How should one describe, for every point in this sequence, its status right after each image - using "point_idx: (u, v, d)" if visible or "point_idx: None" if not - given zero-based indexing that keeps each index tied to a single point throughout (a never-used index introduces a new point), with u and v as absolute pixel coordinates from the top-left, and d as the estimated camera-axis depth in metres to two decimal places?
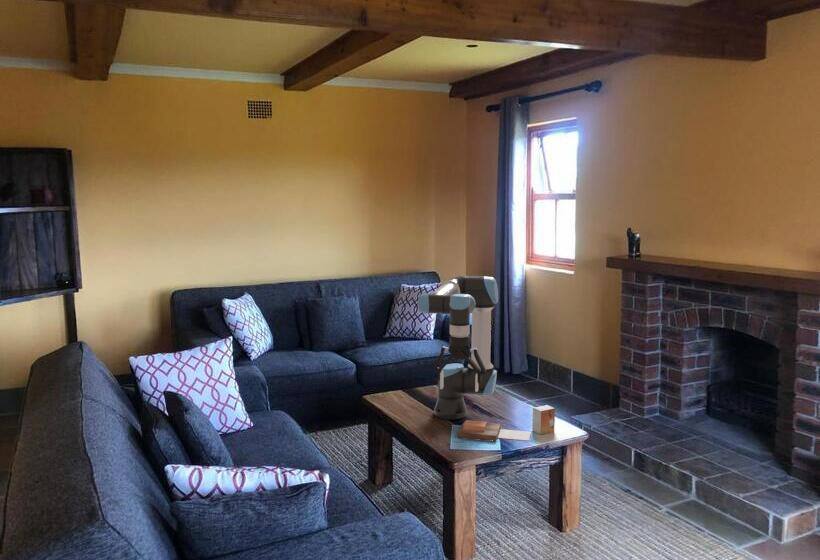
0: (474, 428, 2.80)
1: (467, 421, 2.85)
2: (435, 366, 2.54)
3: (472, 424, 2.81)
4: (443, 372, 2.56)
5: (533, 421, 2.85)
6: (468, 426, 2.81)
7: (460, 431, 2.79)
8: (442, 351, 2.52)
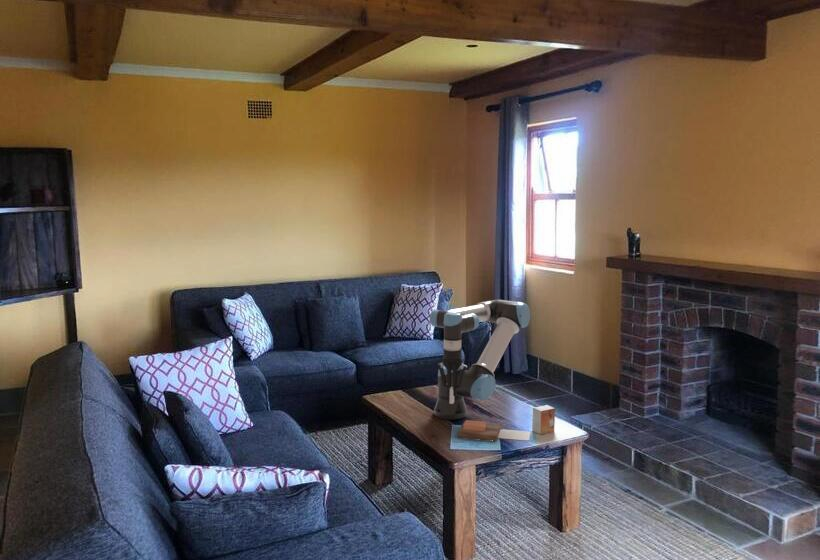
0: (474, 428, 2.80)
1: (467, 421, 2.85)
2: (443, 382, 2.82)
3: (472, 424, 2.81)
4: None
5: (533, 421, 2.85)
6: (468, 426, 2.81)
7: (460, 431, 2.79)
8: (439, 368, 2.82)
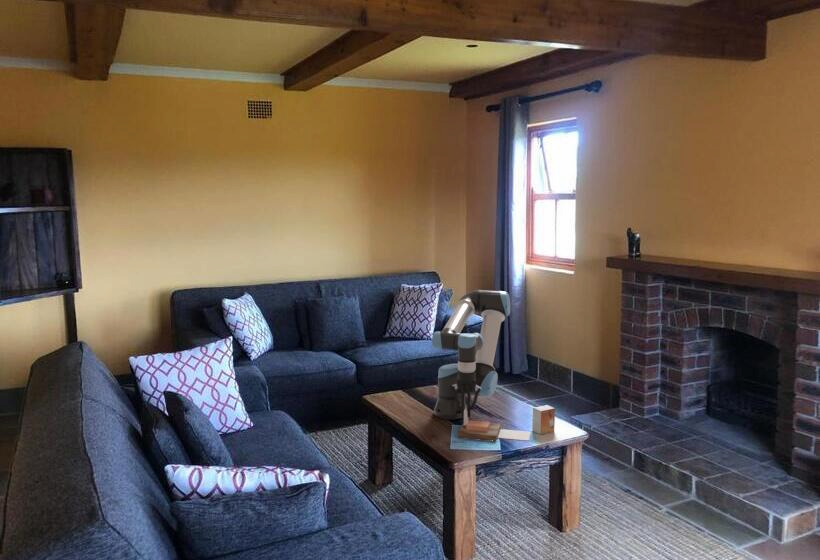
0: (477, 428, 2.80)
1: (470, 421, 2.85)
2: (458, 404, 2.82)
3: (475, 424, 2.81)
4: None
5: (533, 421, 2.85)
6: (471, 426, 2.80)
7: (460, 431, 2.79)
8: (454, 389, 2.82)
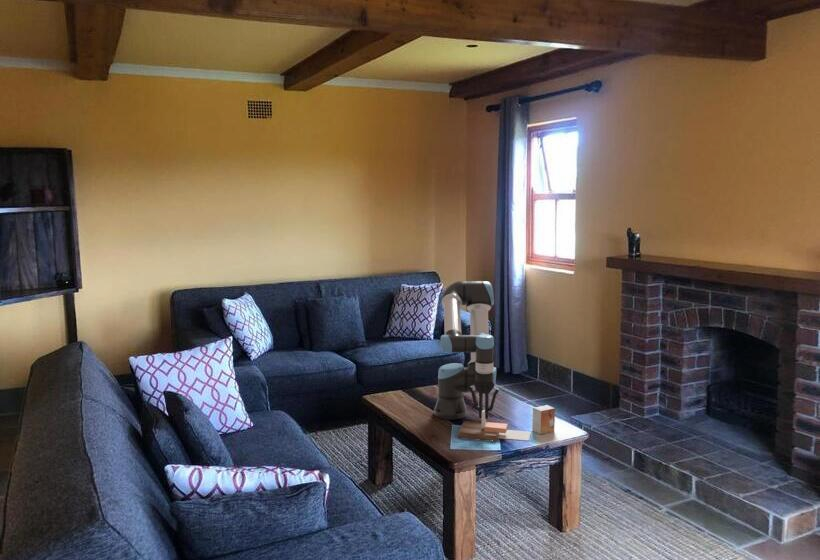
0: (495, 430, 2.78)
1: (488, 423, 2.82)
2: (475, 405, 2.80)
3: (493, 426, 2.79)
4: None
5: (533, 421, 2.85)
6: (489, 428, 2.78)
7: (460, 431, 2.79)
8: (471, 390, 2.80)
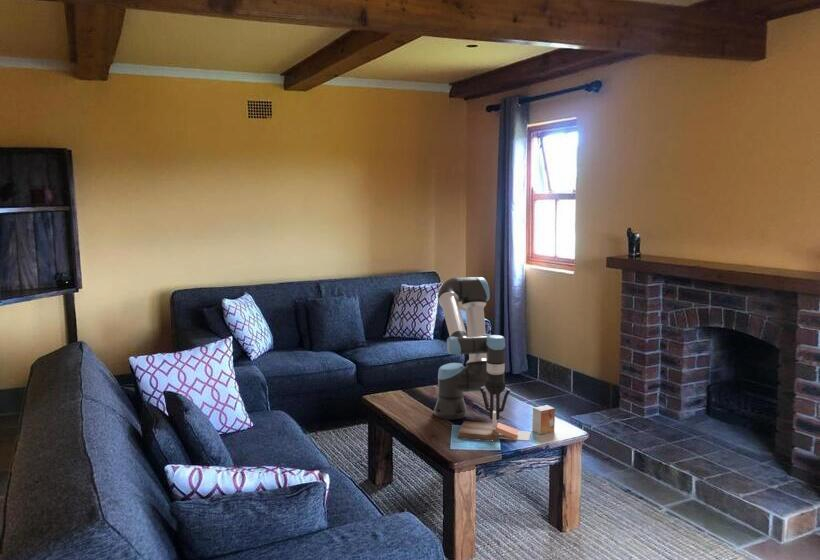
0: (506, 433, 2.77)
1: (499, 424, 2.81)
2: (486, 406, 2.79)
3: (504, 429, 2.78)
4: None
5: (533, 421, 2.85)
6: (500, 430, 2.77)
7: (460, 431, 2.79)
8: (482, 391, 2.79)
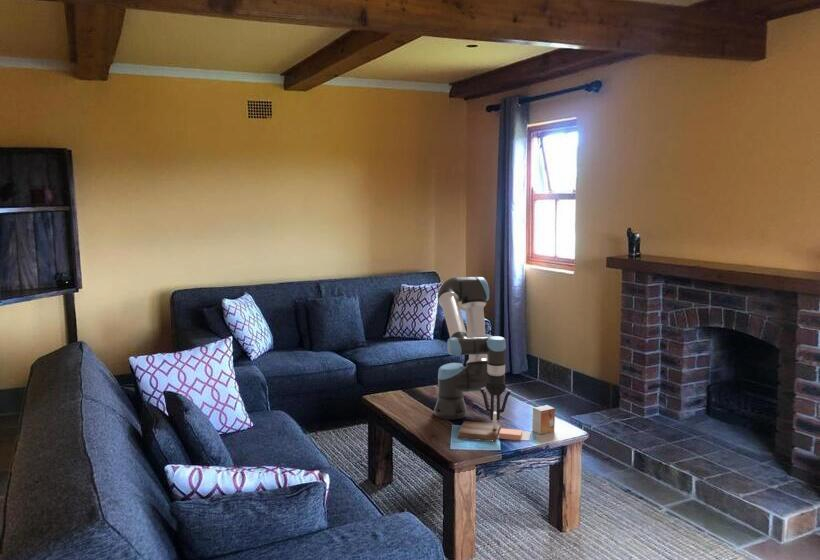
0: (510, 437, 2.76)
1: (502, 429, 2.81)
2: (487, 407, 2.80)
3: (508, 432, 2.78)
4: None
5: (533, 421, 2.85)
6: (504, 434, 2.77)
7: (460, 431, 2.79)
8: (483, 392, 2.79)
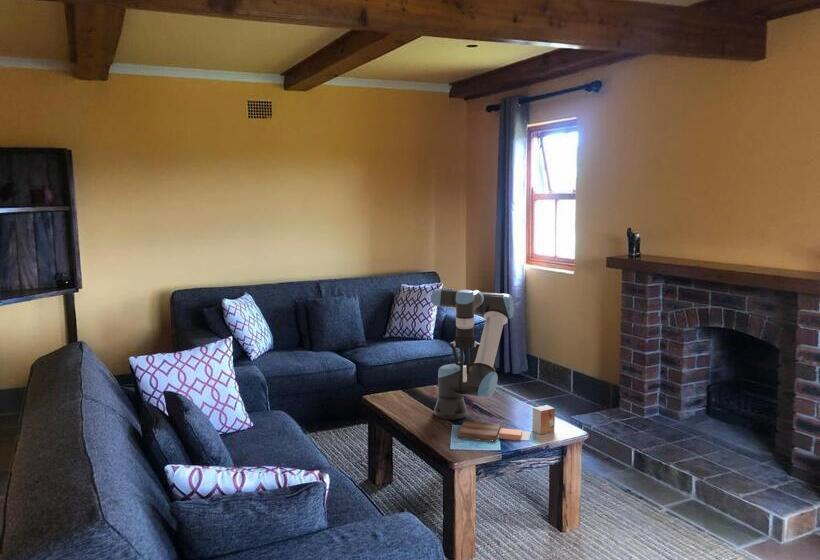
0: (510, 437, 2.76)
1: (502, 429, 2.81)
2: (456, 361, 2.80)
3: (508, 432, 2.78)
4: None
5: (533, 421, 2.85)
6: (504, 434, 2.77)
7: (460, 431, 2.79)
8: (452, 346, 2.79)
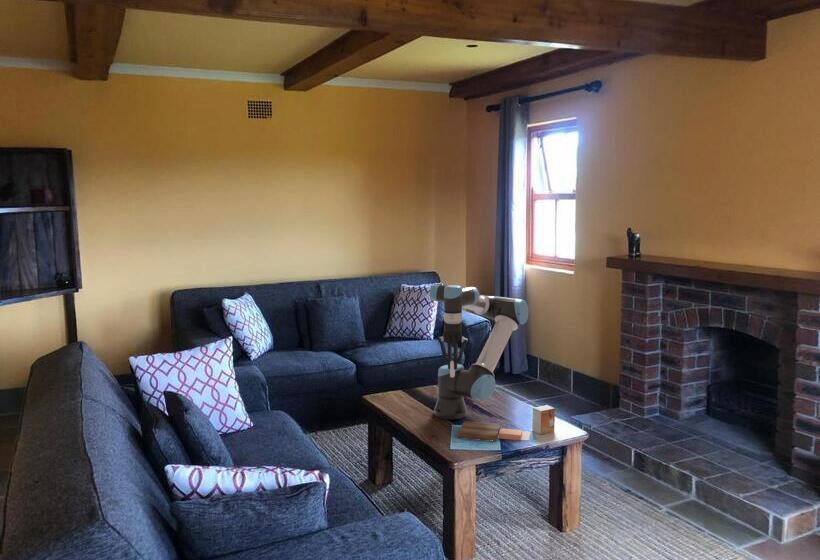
0: (510, 437, 2.76)
1: (502, 429, 2.81)
2: (444, 356, 2.81)
3: (508, 432, 2.78)
4: (453, 362, 2.83)
5: (533, 421, 2.85)
6: (504, 434, 2.77)
7: (460, 431, 2.79)
8: (440, 341, 2.81)
